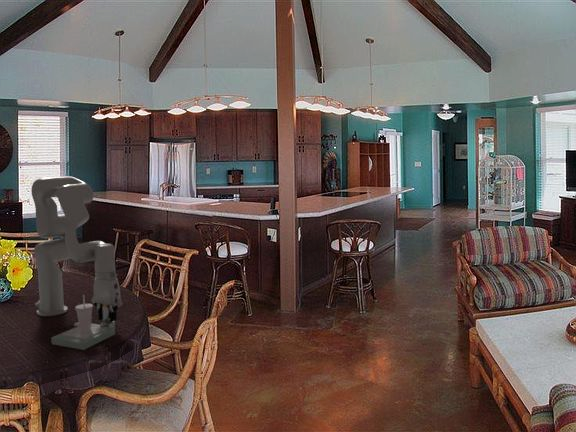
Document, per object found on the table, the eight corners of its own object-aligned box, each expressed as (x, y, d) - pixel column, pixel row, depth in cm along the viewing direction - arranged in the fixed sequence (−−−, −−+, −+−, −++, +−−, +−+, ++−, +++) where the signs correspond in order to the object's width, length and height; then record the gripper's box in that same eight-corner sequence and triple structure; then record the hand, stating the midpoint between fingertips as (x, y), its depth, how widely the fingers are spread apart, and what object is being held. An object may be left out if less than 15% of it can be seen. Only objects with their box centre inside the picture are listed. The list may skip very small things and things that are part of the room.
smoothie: (76, 334, 199) (74, 298, 197) (76, 329, 205) (74, 293, 203) (95, 332, 202) (93, 296, 200) (93, 326, 208) (92, 291, 206)
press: (38, 341, 200) (37, 333, 200) (79, 323, 219) (78, 316, 219) (83, 349, 192) (83, 342, 192) (121, 330, 212) (121, 323, 211)
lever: (100, 328, 211) (98, 298, 209) (107, 324, 215) (105, 295, 213) (108, 329, 209) (107, 299, 208) (115, 326, 213) (114, 296, 211)
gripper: (129, 275, 209) (131, 319, 212) (95, 271, 216) (97, 314, 218) (116, 279, 202) (118, 325, 205) (81, 275, 209) (83, 320, 211)
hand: (107, 319), depth 212 cm, fingers open, 4 cm apart
